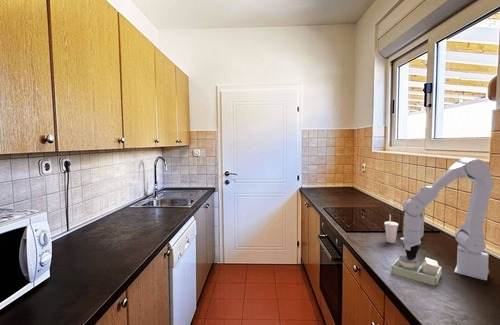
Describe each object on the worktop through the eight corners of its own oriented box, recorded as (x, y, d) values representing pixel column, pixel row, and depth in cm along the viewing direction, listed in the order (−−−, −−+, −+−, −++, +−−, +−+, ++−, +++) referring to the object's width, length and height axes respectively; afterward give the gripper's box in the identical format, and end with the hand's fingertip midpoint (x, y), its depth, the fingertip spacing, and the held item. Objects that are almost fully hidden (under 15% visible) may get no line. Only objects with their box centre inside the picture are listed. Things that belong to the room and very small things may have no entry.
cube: (433, 269, 103) (436, 261, 102) (435, 276, 100) (439, 267, 98) (421, 265, 105) (424, 257, 103) (423, 272, 101) (427, 263, 100)
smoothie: (385, 238, 143) (386, 212, 142) (399, 241, 139) (399, 214, 138) (382, 242, 138) (382, 215, 137) (396, 245, 134) (397, 217, 133)
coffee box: (402, 234, 148) (402, 205, 147) (405, 231, 153) (405, 203, 152) (421, 238, 142) (422, 208, 141) (424, 235, 146) (424, 206, 145)
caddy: (441, 274, 104) (441, 266, 103) (436, 286, 96) (436, 277, 95) (399, 263, 114) (399, 256, 113) (391, 273, 106) (391, 265, 105)
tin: (419, 270, 108) (420, 258, 107) (415, 276, 103) (415, 264, 102) (401, 265, 112) (401, 254, 112) (396, 271, 107) (396, 259, 107)
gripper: (405, 223, 118) (405, 253, 119) (395, 231, 107) (395, 265, 108) (424, 226, 113) (424, 258, 114) (416, 235, 102) (415, 270, 103)
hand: (411, 262), depth 111 cm, fingers closed
